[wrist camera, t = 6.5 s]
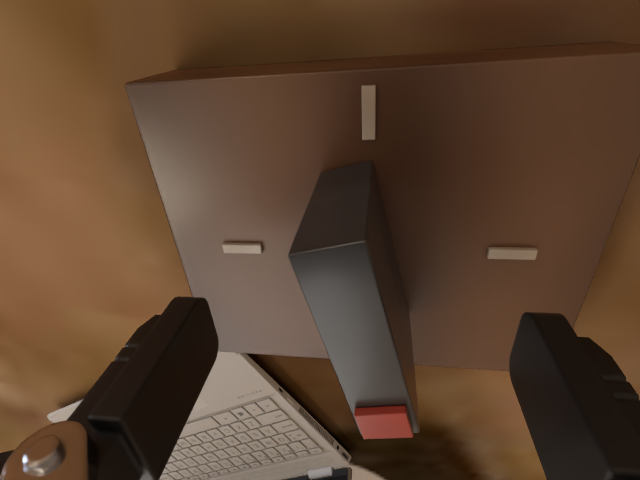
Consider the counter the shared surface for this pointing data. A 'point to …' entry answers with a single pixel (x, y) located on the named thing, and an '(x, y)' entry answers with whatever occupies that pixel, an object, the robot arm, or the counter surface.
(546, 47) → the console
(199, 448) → the laptop
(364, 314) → the grip knob
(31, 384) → the counter surface
